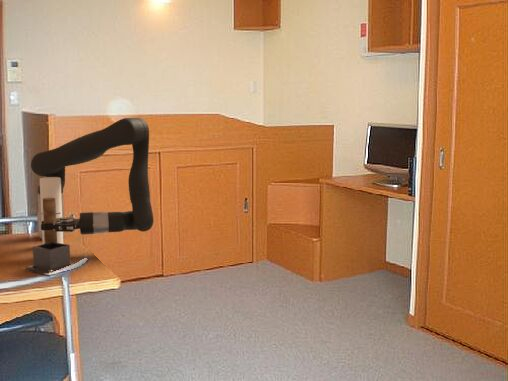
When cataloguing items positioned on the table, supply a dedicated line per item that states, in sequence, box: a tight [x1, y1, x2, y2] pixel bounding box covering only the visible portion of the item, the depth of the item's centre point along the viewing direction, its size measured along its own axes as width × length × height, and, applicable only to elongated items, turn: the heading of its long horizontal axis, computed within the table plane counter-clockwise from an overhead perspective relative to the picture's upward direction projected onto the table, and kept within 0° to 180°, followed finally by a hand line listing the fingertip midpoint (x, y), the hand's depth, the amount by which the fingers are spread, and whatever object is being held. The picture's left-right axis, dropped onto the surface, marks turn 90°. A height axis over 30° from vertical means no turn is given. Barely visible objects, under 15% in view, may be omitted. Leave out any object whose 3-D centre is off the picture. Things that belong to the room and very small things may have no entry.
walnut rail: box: [43, 198, 57, 244], centre depth 206 cm, size 4×4×20 cm
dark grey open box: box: [25, 242, 73, 275], centre depth 192 cm, size 11×11×8 cm
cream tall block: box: [39, 176, 64, 244], centre depth 219 cm, size 7×7×25 cm
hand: (41, 225), depth 205 cm, fingers closed on walnut rail, 4 cm apart
